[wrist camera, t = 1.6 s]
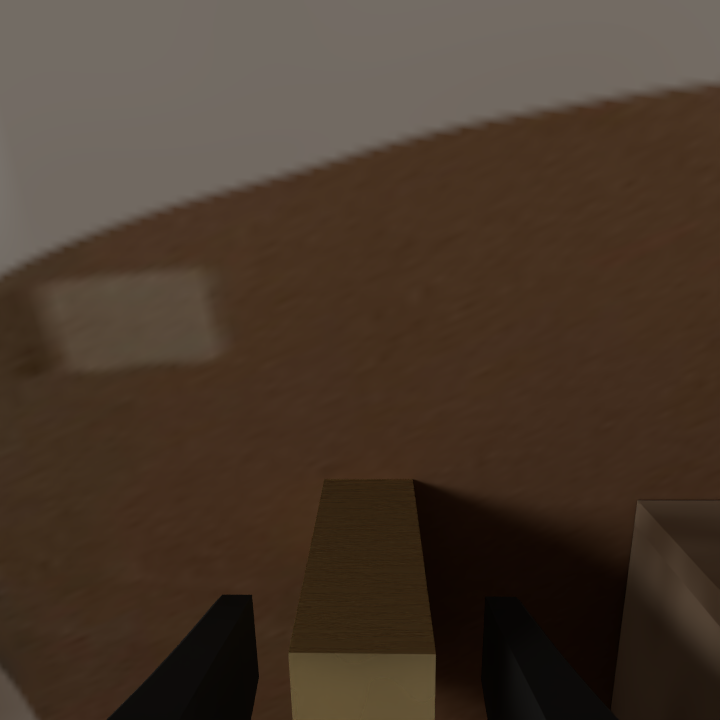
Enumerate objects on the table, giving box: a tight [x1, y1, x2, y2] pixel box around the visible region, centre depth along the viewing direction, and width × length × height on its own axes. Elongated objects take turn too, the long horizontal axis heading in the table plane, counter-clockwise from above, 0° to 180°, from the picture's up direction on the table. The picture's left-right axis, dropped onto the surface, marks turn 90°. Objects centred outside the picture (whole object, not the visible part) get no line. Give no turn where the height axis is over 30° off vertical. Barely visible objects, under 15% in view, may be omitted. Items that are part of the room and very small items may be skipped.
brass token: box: [288, 479, 436, 720], centre depth 10 cm, size 5×2×5 cm, turn 1°
